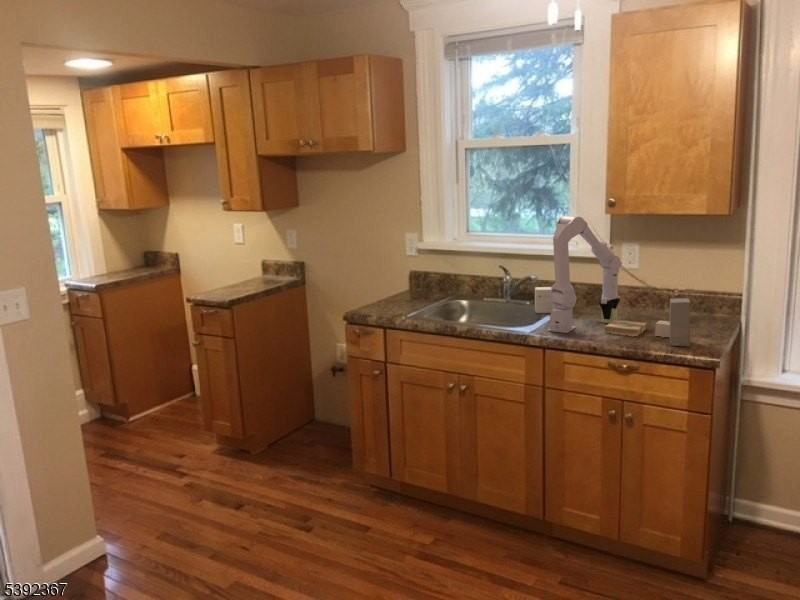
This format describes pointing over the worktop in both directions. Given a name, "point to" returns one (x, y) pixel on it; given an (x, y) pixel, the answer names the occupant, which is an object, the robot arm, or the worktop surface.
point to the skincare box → (679, 322)
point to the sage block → (612, 317)
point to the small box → (543, 300)
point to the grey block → (662, 329)
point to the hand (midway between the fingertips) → (609, 317)
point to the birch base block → (625, 327)
